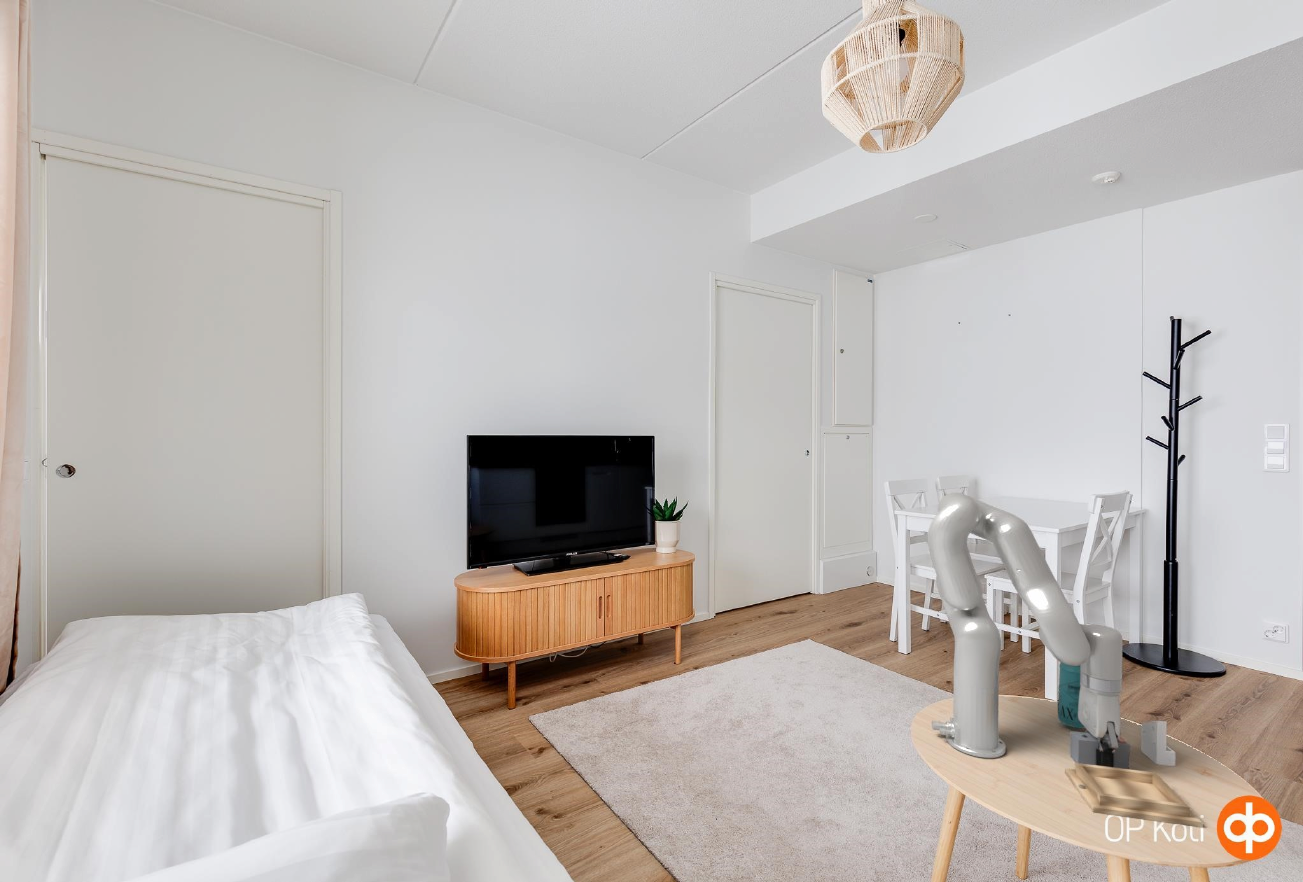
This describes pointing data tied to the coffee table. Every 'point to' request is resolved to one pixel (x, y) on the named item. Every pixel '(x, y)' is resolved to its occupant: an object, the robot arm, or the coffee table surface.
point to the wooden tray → (1130, 794)
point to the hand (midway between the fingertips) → (1099, 761)
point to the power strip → (1086, 748)
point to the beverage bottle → (1069, 695)
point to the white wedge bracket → (1156, 743)
